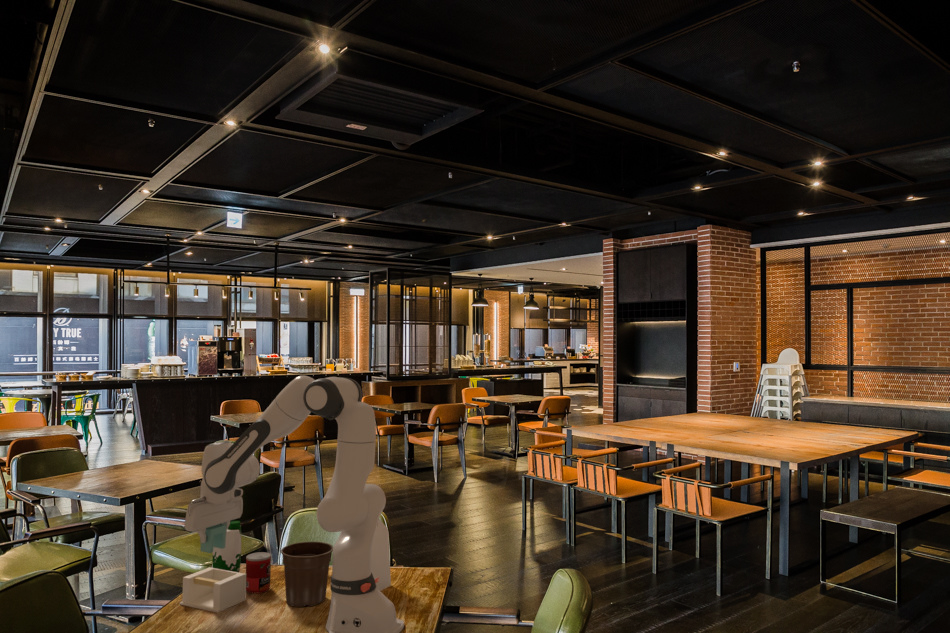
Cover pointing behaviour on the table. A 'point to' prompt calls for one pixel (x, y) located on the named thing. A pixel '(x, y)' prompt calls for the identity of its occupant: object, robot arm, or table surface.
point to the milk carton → (229, 550)
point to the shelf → (213, 589)
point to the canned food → (258, 572)
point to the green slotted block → (214, 538)
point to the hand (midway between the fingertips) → (213, 539)
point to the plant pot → (306, 572)
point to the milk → (381, 557)
